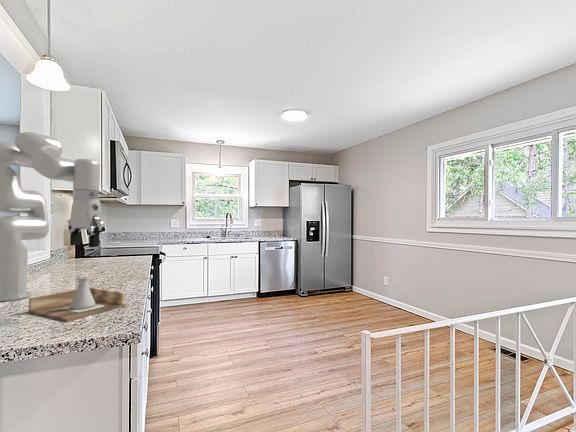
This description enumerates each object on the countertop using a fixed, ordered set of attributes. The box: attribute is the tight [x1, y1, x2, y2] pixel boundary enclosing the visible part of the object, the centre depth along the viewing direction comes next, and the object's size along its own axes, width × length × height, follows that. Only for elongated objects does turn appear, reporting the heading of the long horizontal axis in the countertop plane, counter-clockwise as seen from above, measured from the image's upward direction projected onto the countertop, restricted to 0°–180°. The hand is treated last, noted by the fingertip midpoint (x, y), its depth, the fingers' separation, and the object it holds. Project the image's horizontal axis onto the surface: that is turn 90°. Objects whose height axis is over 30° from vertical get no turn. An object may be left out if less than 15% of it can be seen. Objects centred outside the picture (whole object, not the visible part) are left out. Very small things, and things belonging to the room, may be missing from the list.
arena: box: [28, 286, 127, 323], centre depth 108 cm, size 20×20×5 cm
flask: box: [69, 276, 96, 309], centre depth 107 cm, size 7×7×10 cm
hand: (84, 245), depth 108 cm, fingers open, 9 cm apart
